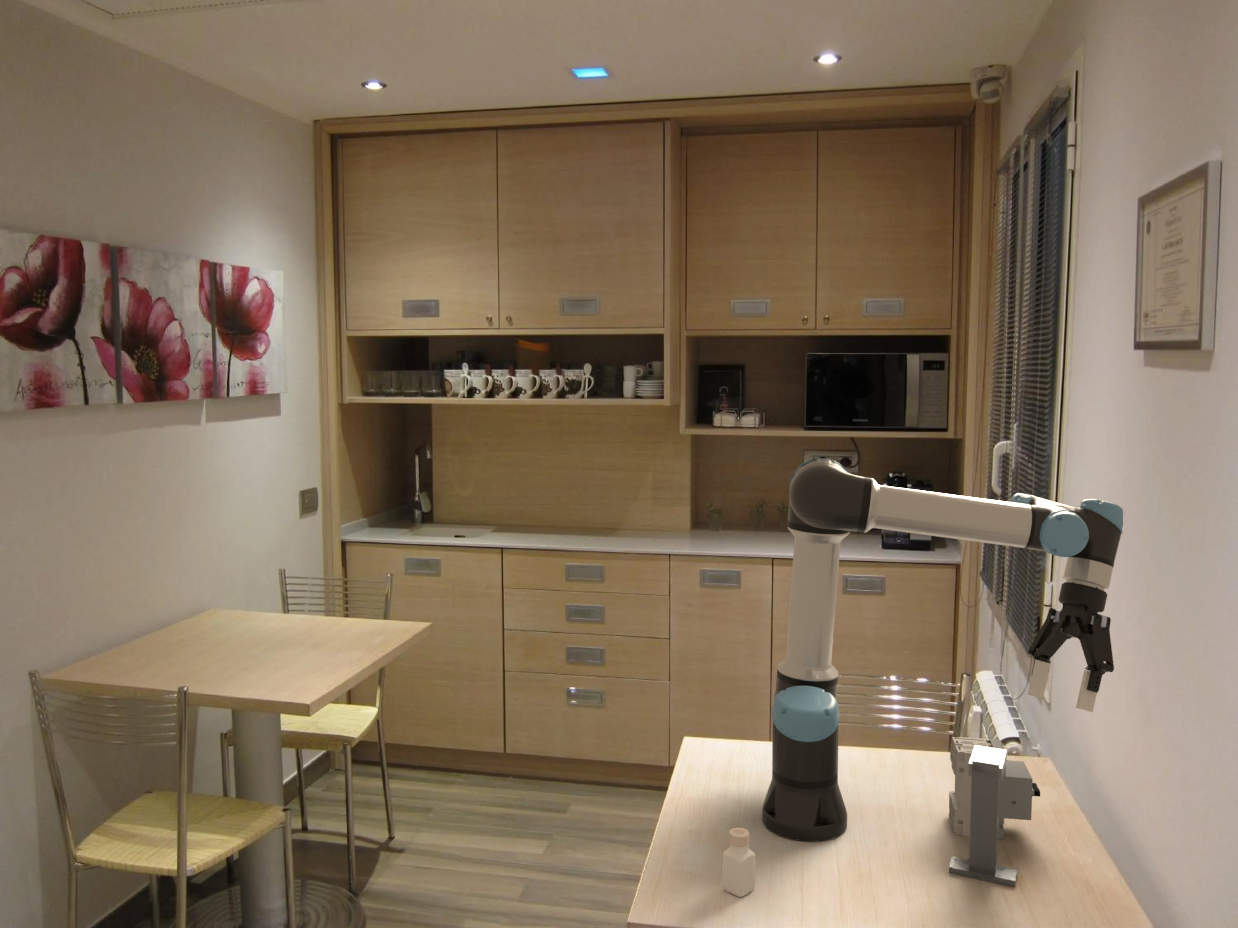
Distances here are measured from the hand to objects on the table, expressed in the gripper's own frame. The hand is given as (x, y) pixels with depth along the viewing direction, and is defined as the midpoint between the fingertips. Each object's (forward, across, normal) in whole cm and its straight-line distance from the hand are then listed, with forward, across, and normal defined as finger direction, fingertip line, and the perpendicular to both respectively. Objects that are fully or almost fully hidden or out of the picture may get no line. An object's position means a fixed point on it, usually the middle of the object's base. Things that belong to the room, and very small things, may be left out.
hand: (1058, 703), depth 172 cm
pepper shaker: (+42, -5, +51) cm, 66 cm away
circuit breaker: (+25, +6, +3) cm, 25 cm away
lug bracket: (+29, -6, +11) cm, 32 cm away
